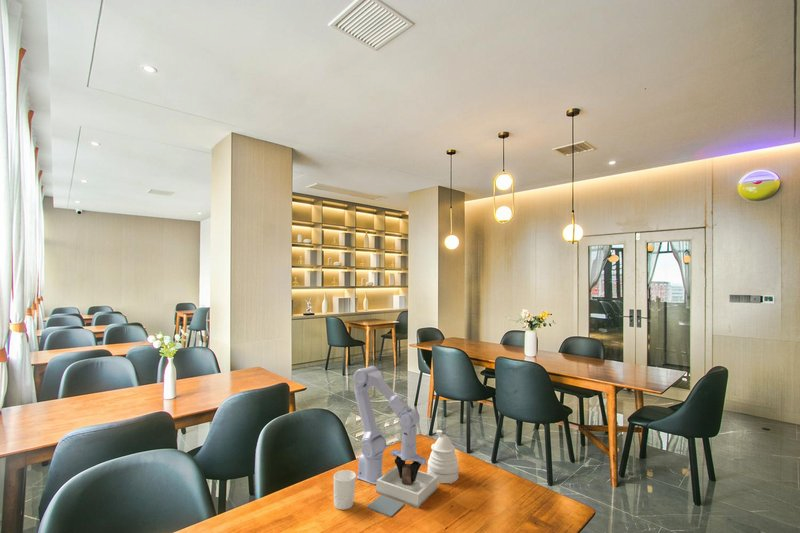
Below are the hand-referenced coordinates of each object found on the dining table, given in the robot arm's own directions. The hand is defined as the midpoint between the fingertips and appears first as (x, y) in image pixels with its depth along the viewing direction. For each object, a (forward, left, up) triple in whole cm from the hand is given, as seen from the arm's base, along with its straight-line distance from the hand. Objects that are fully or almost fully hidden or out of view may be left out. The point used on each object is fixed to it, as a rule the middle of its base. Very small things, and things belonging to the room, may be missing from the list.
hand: (407, 479), depth 144 cm
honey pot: (+7, +18, -4) cm, 20 cm away
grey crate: (0, 0, -4) cm, 4 cm away
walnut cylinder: (0, 0, -1) cm, 1 cm away
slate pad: (-1, -14, -4) cm, 14 cm away
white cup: (-14, -21, -4) cm, 26 cm away
